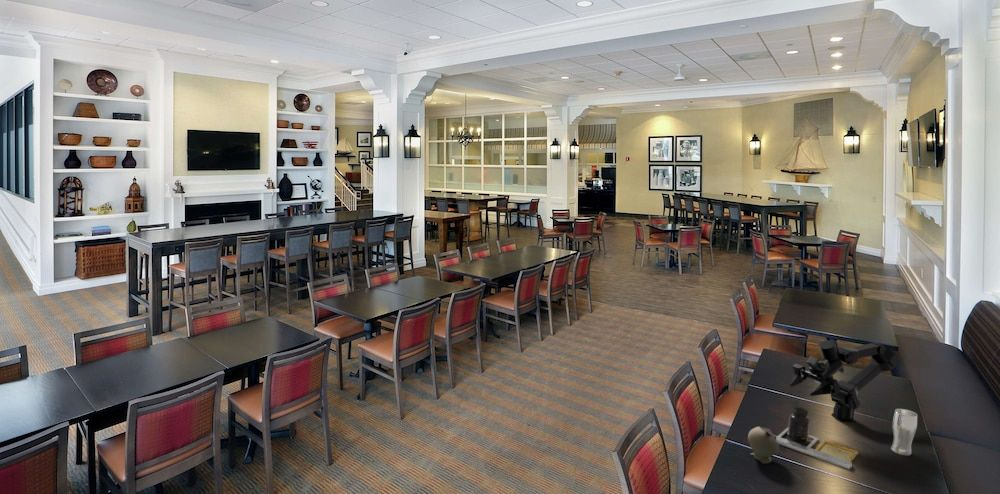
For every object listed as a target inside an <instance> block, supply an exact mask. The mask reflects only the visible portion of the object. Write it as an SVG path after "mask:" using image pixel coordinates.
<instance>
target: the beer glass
mask: <svg viewBox="0 0 1000 494" xmlns="http://www.w3.org/2000/svg"><path fill="white" fill-rule="evenodd" d="M917 427H918V414H917V413H916V412H914V411H913V410H909V409H906V408H905V409H904V408H895V410H894V415H893V418H892V433H893V441H892V444H891V447H890V449H891V451H892V452H894V453H896V454H898V455H901V456H911V455H912V454H913V453H912V443H913V440H914V438H915V435H916V433H917V432H916V431H917Z"/></svg>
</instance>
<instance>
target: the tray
mask: <svg viewBox="0 0 1000 494" xmlns="http://www.w3.org/2000/svg"><path fill="white" fill-rule="evenodd" d="M786 434H788V427H786V428H785V429H784V430H782V432H781V433H779V434H778V435H775V436H776V437H777V439H776V441H777V443H778V444H779V446H783V447H786V448H788V449H791V450H793V451H796V452H800V453H802V454H805V455H807V456H811V457H813V458H817V459H819V460H822V461H825V462H828V463H830V464H833V465H836V466H838V467H842V468H844V469H847V470H850V469H852V466H853V460H854V459H855V458H856V457H857V456H858V455H859V451H858V450H855V449H853V448H849V447H847V446H843V445H839V444H837V443H835V442H832V441H829V440H826V439H824V440H822V442H821V443H820V444H819V445H818V446H817V447H816V448H815V449H814V448H812V447H813V446H814V445H815V444H816V443H817V442H818V441H819V437H817V436H814V435H810V434H808V439H812V441H811V442H810V443H809V444H807V446H806V445H804V444H801V443H795V442H793V441H791V440H790V439H788V438H783V436H785V435H786Z"/></svg>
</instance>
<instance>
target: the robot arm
mask: <svg viewBox="0 0 1000 494" xmlns="http://www.w3.org/2000/svg"><path fill="white" fill-rule="evenodd" d="M837 344H838V343H837V340H835V339H832V338H831V339H830V340H828V339H827V340H821V341H820V342H819V343H818V348H819V351H820V354H821V357H822V359H824V360H821V359H820V358H817V357H814V356H812V355H810V356H809V358H807V360H806V362H805V363H806V364H807V365H808V366H809V368H808V371H807V370H806V366H803V365H801V364H798V363H795V364H793V365H792V366H791V368H792V371H793V377H792V379H791V382H790V383H789V386H790V388H791V387H794V386H797V385H799V384H801V383H804V381H805V380H807V378H808V379H810V380H813V381H814V382H816V383H818V384H819V385H818V386H817V387H815V388H814V389H813V390H812V391H811V392H810V393H809V395H810V397H814V396H821V395H830V396H831V397H830V399H831V401H832V402H834V406H833V413H831V416H833V417H834V418H835V419H836V420H838V421H839V422H841V423H842V422H843V423H845V422H848V423H850V422H854V423H856V422H857V420H856V419H855V418H854V417H855V410H857V409H858V408H860V405H861V401H860V400H859V399H858V396H859V391H860V390H862V389H863V388H864V387H865V386H866V385H868V384H869V383H870V382H871V381H872V380H874V379H875V378H876V377H877V376H879V375H880V374H881V373H885V372H890V371H891V370H892V371H893V369H895V368H896V367H897V366H898V365H899V362H900V361H899V359H898V356H897V355H896V354H894V352H891V351H890V350H889V349H887V348H886V346H884V345H883V344H882V343H881V344H880V343H878V342H869V343H867V344H863V345H858V346H853V347H849V346H838V345H837ZM868 357H871V358H870V363H869V364H868V365H866V366H864V368H863V369H861V370H860V371H859V372H857V373H856V374H855V375H854V376H853V377H852V378H850V379H849V380H848V381H846V380H845V381H844V380H843V379H840V380H839V381H838V379H836V378H834V375H835V374H836V373H838V372H840V373H842V374H843V373H844V372H845V369H844V367H845V366H844V365H843V364H845V365H848V366H851V365H854V364H855V363H857V362H859V361H858V360H860V359H863V358H864V359H865V358H868Z"/></svg>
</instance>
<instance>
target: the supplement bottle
mask: <svg viewBox="0 0 1000 494" xmlns="http://www.w3.org/2000/svg"><path fill="white" fill-rule="evenodd" d="M810 423H811V421H810V419H809V418H808V410H807V409H806V408H803V407H797V406H796V407H793V410H792V414H790V415H789V418H788V427H787V428H788V432H787V439H788V440H790V441H792V442H795V443H798V444H801V445H804V444H806V443H808V441H809V440H808V439H809V438H808V435H809V431H810Z"/></svg>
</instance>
